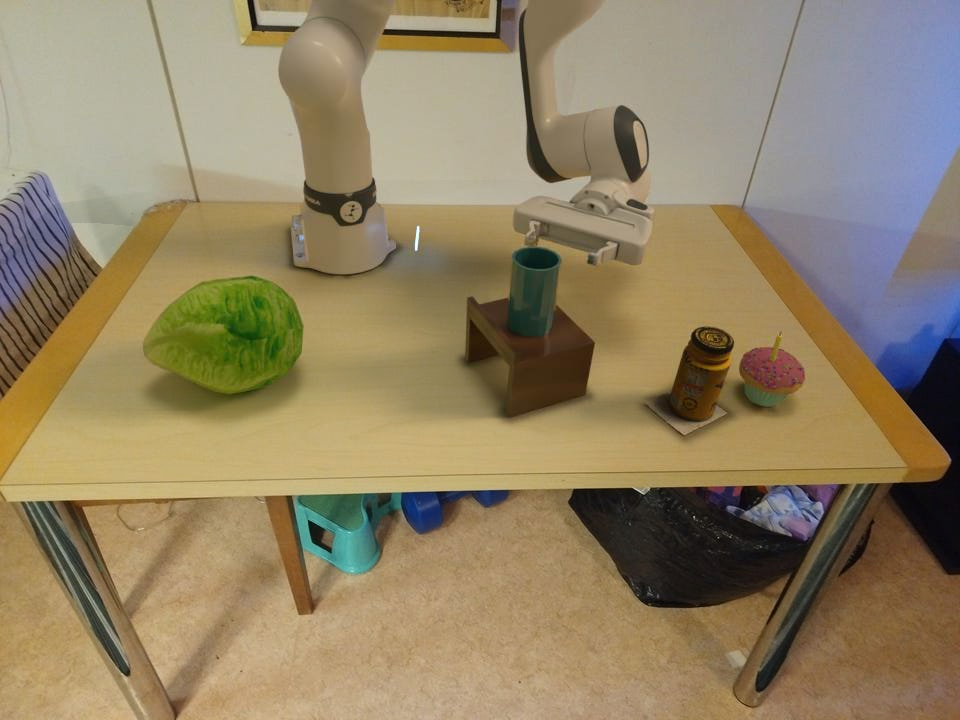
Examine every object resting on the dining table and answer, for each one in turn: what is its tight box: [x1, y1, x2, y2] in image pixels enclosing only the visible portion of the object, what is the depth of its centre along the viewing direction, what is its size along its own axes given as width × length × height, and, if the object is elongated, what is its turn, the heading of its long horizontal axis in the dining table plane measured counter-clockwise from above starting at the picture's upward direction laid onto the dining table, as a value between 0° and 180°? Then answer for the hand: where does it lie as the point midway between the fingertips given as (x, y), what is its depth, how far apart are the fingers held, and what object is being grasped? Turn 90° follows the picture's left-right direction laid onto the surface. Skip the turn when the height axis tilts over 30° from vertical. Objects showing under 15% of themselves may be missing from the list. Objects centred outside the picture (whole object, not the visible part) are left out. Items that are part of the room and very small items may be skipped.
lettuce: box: [142, 275, 304, 395], centre depth 86 cm, size 17×20×15 cm
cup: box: [507, 246, 563, 337], centre depth 85 cm, size 6×6×10 cm
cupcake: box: [738, 330, 806, 408], centre depth 89 cm, size 9×8×12 cm
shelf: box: [464, 295, 596, 418], centre depth 91 cm, size 14×12×11 cm
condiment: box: [644, 325, 735, 436], centre depth 86 cm, size 7×8×12 cm
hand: (560, 251), depth 90 cm, fingers open, 8 cm apart
